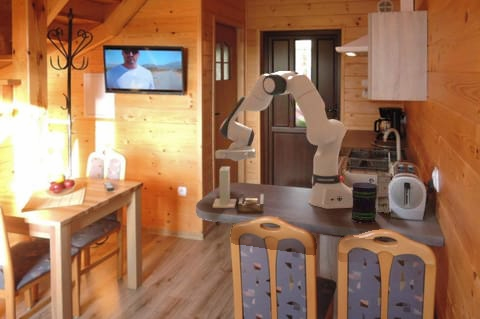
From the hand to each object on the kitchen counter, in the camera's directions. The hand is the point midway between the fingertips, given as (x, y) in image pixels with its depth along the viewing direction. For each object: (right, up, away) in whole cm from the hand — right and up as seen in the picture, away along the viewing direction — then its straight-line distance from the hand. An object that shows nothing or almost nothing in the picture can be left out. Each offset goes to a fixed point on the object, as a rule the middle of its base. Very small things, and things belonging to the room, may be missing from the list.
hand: (234, 156), depth 241 cm
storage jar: (+54, -27, -37) cm, 70 cm away
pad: (-4, -22, -11) cm, 25 cm away
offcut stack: (+8, -24, -20) cm, 32 cm away
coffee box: (+67, -24, -22) cm, 74 cm away
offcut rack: (+8, -23, -15) cm, 28 cm away
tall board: (-4, -22, -11) cm, 25 cm away
